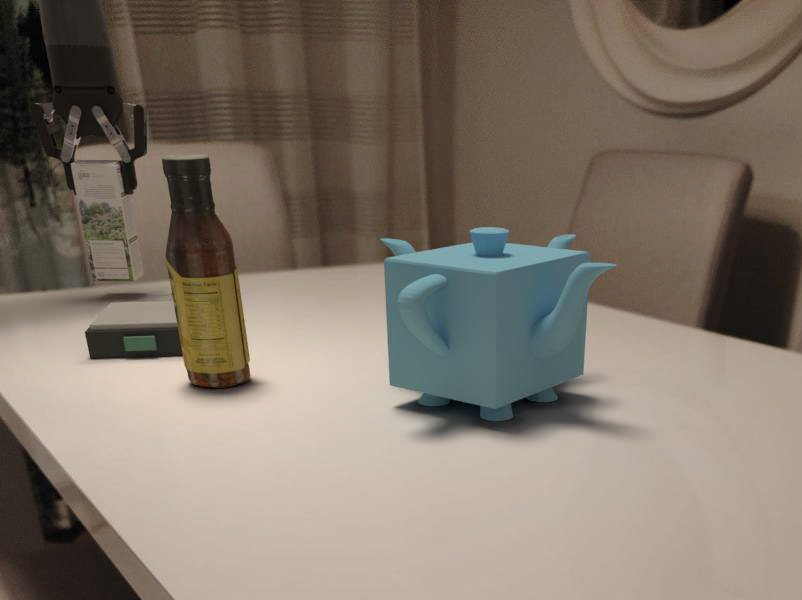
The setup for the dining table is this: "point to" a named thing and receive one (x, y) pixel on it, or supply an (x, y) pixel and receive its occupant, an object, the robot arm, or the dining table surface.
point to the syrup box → (107, 220)
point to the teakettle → (487, 319)
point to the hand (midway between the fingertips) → (104, 193)
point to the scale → (135, 331)
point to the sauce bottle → (204, 278)
